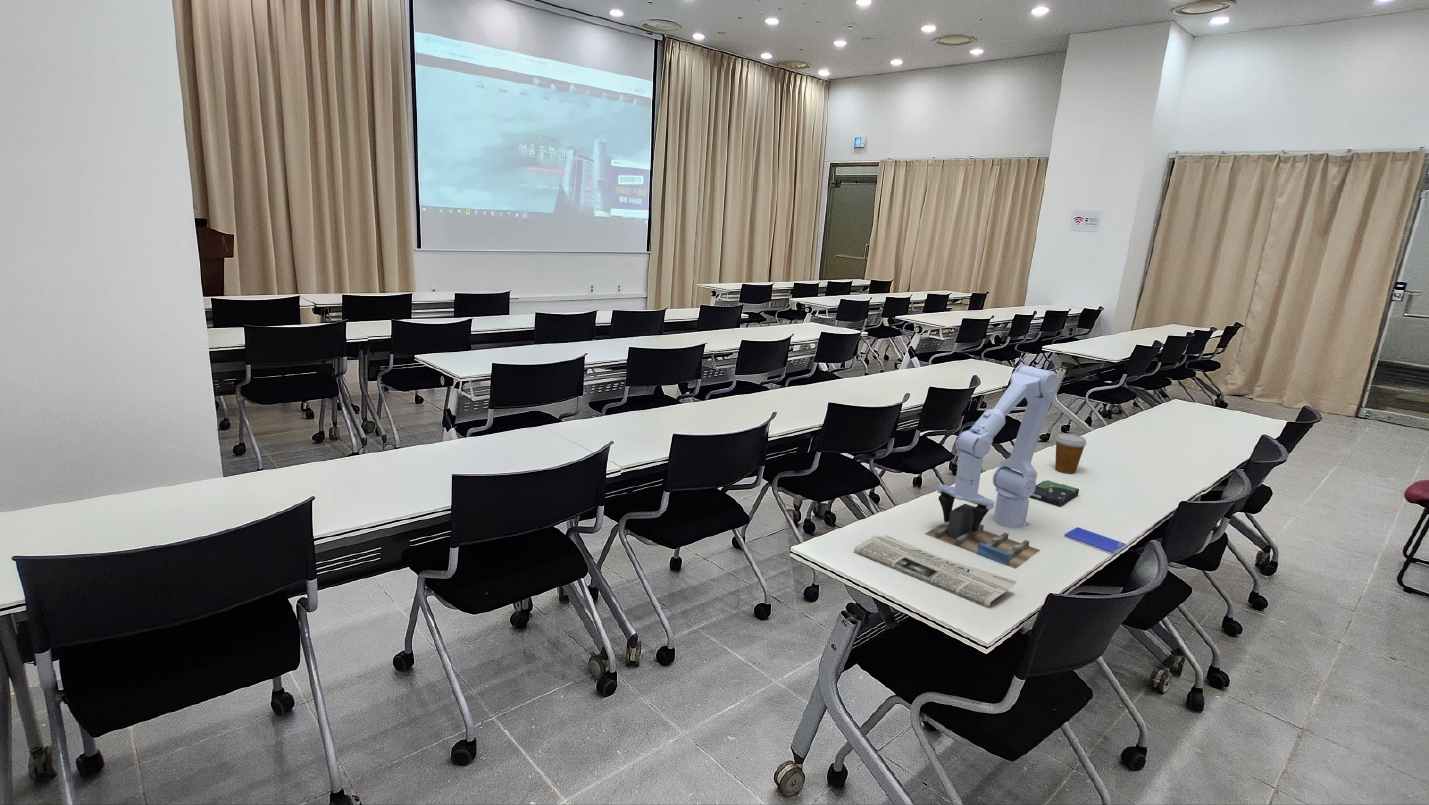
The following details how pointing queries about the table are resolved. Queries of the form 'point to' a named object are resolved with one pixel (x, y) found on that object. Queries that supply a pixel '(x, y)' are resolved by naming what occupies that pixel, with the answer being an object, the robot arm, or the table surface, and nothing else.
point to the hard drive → (1095, 540)
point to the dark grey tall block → (960, 521)
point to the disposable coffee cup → (1068, 452)
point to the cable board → (988, 545)
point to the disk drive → (1054, 493)
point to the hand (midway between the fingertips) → (960, 526)
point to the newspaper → (936, 569)
